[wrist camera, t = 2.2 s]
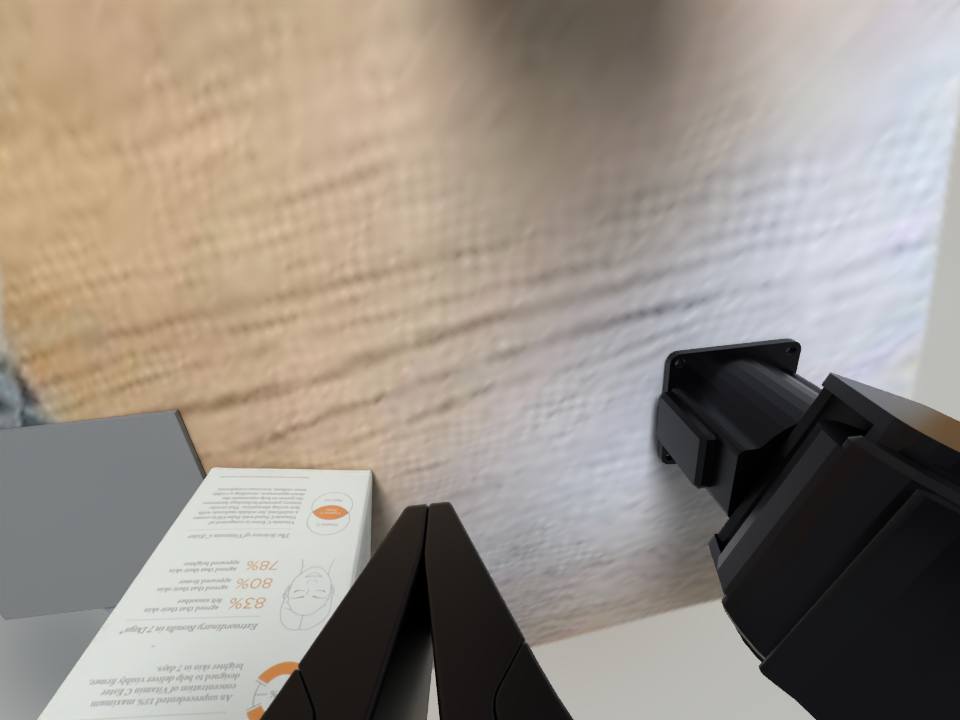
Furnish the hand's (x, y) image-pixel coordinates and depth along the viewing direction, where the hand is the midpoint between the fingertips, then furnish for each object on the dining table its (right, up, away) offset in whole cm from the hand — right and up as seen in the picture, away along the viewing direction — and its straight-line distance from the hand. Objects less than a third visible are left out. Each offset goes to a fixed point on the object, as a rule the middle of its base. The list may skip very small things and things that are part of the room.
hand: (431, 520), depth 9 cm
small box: (-9, -5, +16) cm, 19 cm away
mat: (-20, -6, +15) cm, 26 cm away
